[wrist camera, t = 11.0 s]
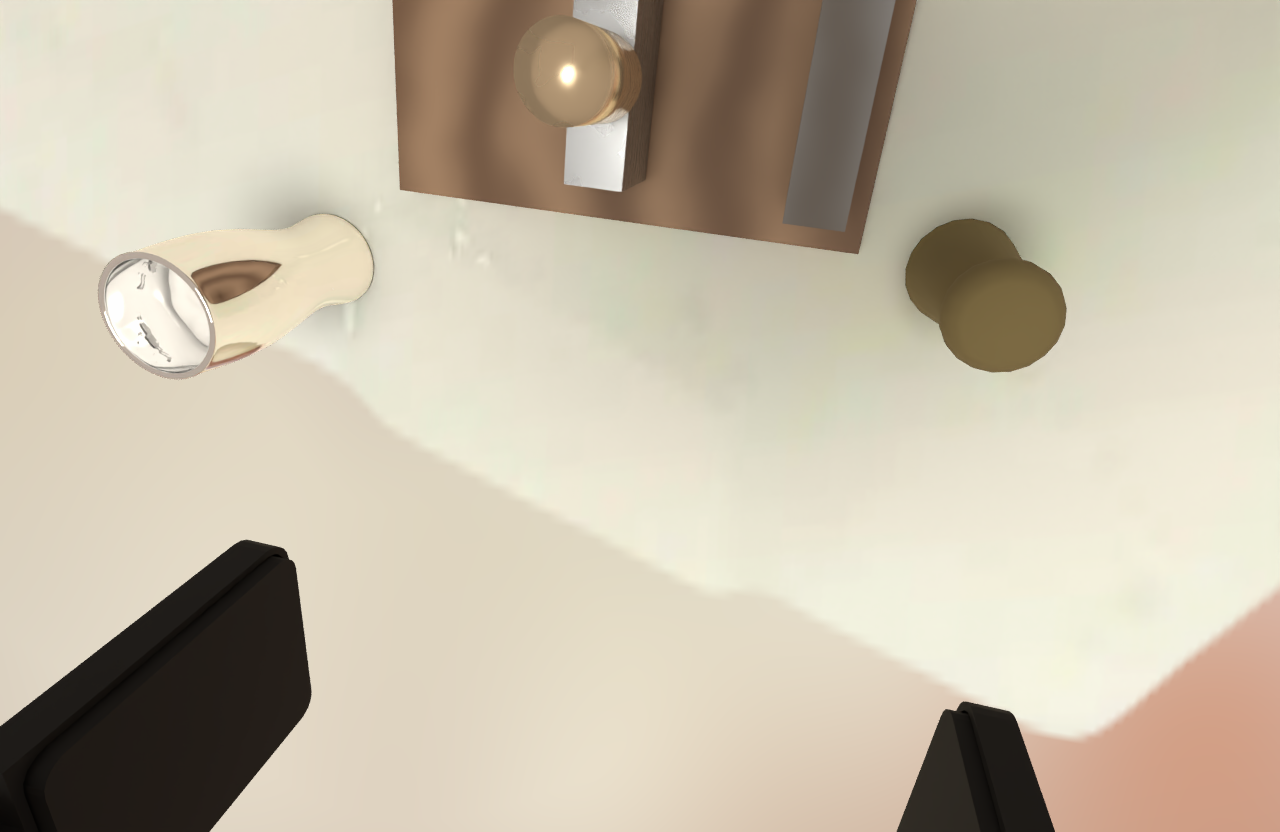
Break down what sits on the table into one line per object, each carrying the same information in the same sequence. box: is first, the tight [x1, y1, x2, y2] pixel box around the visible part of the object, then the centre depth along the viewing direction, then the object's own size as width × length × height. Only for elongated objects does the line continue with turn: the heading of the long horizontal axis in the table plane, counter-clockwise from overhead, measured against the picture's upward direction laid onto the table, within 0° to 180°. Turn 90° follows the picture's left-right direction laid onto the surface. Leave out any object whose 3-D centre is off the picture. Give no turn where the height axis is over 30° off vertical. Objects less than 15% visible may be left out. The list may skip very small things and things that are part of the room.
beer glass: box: [98, 214, 373, 379], centre depth 42 cm, size 7×7×15 cm
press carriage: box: [514, 0, 663, 192], centre depth 33 cm, size 4×10×12 cm, turn 175°
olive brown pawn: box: [905, 219, 1067, 372], centre depth 36 cm, size 6×6×11 cm
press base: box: [393, 0, 917, 254], centre depth 37 cm, size 28×15×8 cm, turn 85°
